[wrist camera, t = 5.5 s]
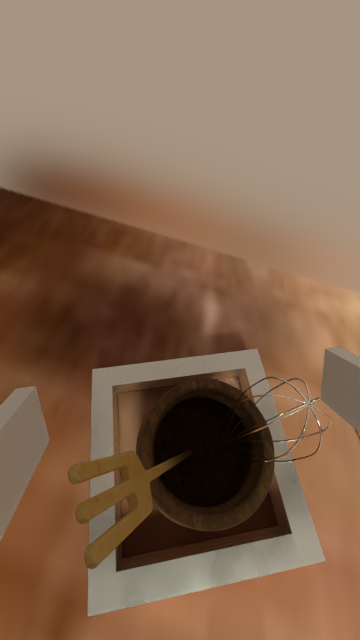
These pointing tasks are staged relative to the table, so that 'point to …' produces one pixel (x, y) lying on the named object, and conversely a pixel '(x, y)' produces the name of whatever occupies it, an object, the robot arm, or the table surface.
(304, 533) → the grey square frame
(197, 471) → the utensil holder
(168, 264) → the table surface
